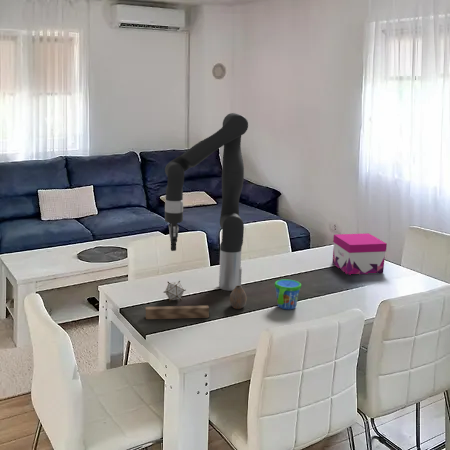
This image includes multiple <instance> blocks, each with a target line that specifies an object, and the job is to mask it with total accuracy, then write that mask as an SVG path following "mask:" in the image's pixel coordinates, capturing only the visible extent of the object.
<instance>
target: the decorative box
mask: <svg viewBox="0 0 450 450" xmlns="http://www.w3.org/2000/svg"><path fill="white" fill-rule="evenodd" d="M332 239H333V241H332V242H333V249H332V250H333V251H332V265H334V266H335V267H337V268H338V269H339V268H340V269H341V270H340V269H339V270H340V271H341V272H343V273H344V272H345V273H344V274H346V275H347V274H348V275H347V276H352V275H351V274H359V275H369V274H368V273H379V274H384V268H385V267H384V266H385V257H386V252H387V246H388V245H387V243H386V242H385V241H383V240H381V239H380V238H377V237H376V236H374V235H372V234H371V233H345V234H343V233H340V234H339V233H338V234H333V238H332Z"/></svg>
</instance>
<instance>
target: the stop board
mask: <svg viewBox="0 0 450 450" xmlns="http://www.w3.org/2000/svg"><path fill="white" fill-rule="evenodd" d="M209 313H210V306H209V305H176V306H175V305H173V306H172V305H171V306H169V305H168V306H166V305H165V306H145V320H162V319H163V320H165V319H166V320H169V319H201V318H202V319H203V318H204V319H205V318H207V319H209V317H210V314H209Z"/></svg>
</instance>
